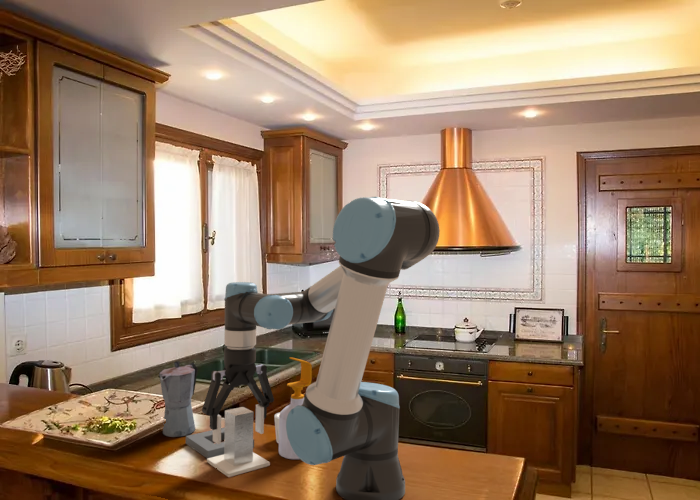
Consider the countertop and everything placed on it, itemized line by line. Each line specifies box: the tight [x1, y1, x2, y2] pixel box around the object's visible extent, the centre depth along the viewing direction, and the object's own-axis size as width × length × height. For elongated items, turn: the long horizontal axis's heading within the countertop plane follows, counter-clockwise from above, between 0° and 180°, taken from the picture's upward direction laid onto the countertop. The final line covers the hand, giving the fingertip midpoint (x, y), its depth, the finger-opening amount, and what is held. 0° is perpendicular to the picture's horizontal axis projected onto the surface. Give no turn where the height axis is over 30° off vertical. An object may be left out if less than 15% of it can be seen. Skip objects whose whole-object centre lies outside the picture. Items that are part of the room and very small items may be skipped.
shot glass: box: [273, 411, 281, 444], centre depth 152 cm, size 7×7×7 cm
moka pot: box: [158, 360, 199, 438], centre depth 157 cm, size 10×15×20 cm, turn 163°
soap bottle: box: [278, 356, 313, 460], centre depth 143 cm, size 9×9×25 cm
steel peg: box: [223, 406, 254, 466], centre depth 136 cm, size 5×5×12 cm
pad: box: [206, 451, 271, 478], centre depth 136 cm, size 11×11×1 cm
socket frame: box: [185, 426, 255, 460], centre depth 148 cm, size 13×13×2 cm
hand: (238, 437), depth 136 cm, fingers open, 11 cm apart
